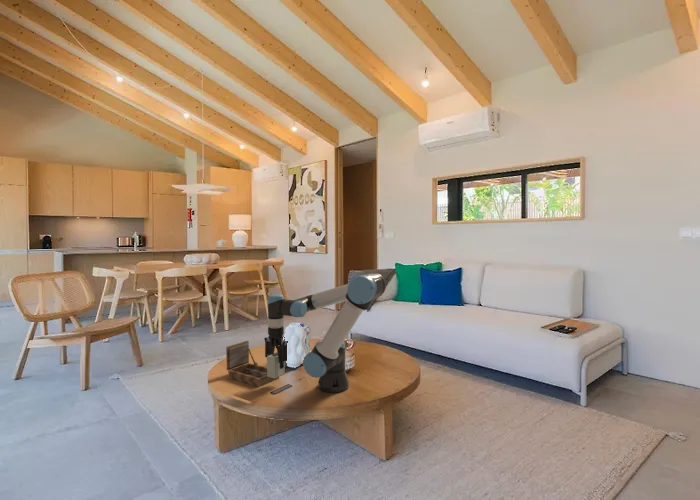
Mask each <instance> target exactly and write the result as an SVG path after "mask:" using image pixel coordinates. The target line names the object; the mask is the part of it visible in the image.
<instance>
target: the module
mask: <svg viewBox="0 0 700 500" xmlns="http://www.w3.org/2000/svg"><path fill="white" fill-rule="evenodd" d="M278 362H279V358H278V353H277V351H276V352H274V354H271V355H269V356H267V357H266V368H267V376H268V377H271V378H274V379H275V378H277V377H279V378H280V377H282V376H284V375H285V374H286V372H285V371H286V370H285V369H286V367H285V361H284V368H283V374H282V375H280V376H278Z"/></svg>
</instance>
